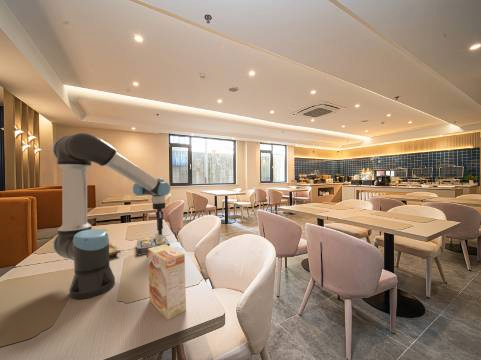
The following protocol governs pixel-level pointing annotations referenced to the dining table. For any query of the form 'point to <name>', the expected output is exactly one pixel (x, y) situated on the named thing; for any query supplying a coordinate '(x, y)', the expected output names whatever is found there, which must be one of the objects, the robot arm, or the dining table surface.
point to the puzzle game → (113, 250)
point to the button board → (153, 244)
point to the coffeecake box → (167, 280)
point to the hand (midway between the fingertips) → (160, 239)
